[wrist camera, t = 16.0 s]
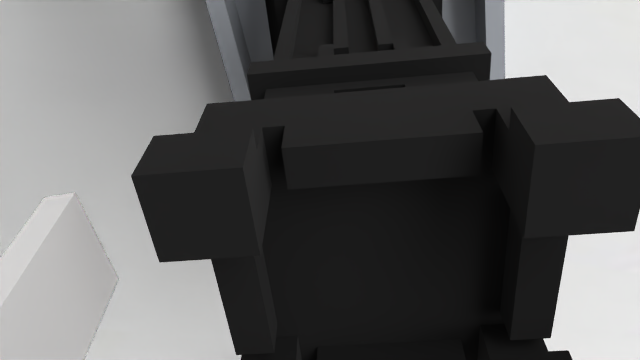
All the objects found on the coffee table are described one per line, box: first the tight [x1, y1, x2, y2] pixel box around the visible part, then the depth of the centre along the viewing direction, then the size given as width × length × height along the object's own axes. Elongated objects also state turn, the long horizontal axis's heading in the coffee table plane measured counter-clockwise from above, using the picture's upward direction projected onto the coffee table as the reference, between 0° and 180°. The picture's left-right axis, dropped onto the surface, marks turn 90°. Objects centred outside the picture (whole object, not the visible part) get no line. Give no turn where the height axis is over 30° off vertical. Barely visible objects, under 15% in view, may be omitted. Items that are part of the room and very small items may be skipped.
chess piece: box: [131, 0, 640, 360], centre depth 18 cm, size 8×8×20 cm
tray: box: [205, 0, 505, 102], centre depth 26 cm, size 13×13×3 cm
